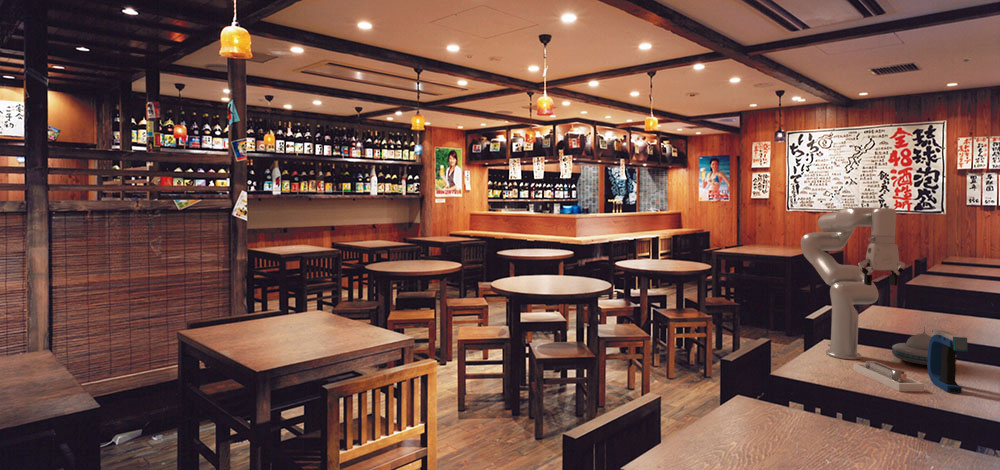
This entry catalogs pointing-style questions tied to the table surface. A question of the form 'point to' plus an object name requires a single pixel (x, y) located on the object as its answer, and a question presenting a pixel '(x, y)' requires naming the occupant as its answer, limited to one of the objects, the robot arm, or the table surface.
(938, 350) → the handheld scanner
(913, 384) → the tongs rest
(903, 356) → the toy
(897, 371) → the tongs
